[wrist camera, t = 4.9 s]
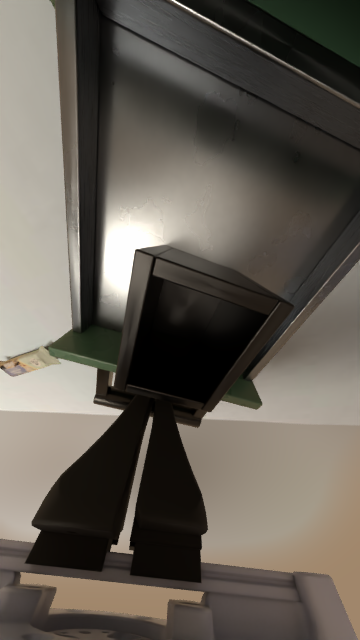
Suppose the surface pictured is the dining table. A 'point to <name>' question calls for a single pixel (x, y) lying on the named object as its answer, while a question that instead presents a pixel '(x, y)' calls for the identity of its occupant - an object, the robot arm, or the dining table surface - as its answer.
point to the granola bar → (28, 362)
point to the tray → (201, 163)
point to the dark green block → (320, 22)
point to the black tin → (191, 327)
